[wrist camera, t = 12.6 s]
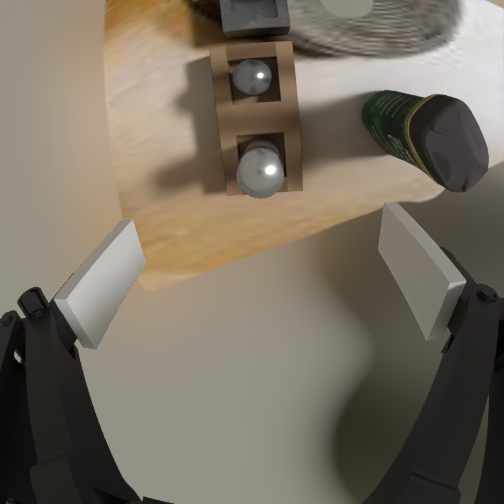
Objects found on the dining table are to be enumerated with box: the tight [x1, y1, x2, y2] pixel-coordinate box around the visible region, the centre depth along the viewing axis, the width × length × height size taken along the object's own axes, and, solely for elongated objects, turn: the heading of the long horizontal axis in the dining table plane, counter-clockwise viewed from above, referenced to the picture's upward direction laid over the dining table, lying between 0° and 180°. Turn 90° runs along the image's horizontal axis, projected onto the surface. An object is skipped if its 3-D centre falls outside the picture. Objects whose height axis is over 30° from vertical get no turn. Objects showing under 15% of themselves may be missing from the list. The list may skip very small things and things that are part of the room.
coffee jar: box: [362, 90, 489, 192], centre depth 26 cm, size 10×8×19 cm
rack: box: [209, 41, 303, 196], centre depth 33 cm, size 20×10×4 cm, turn 6°
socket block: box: [220, 0, 290, 39], centre depth 25 cm, size 8×8×4 cm
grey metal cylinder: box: [236, 136, 284, 198], centre depth 31 cm, size 5×5×13 cm
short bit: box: [233, 59, 272, 96], centre depth 28 cm, size 4×4×8 cm
